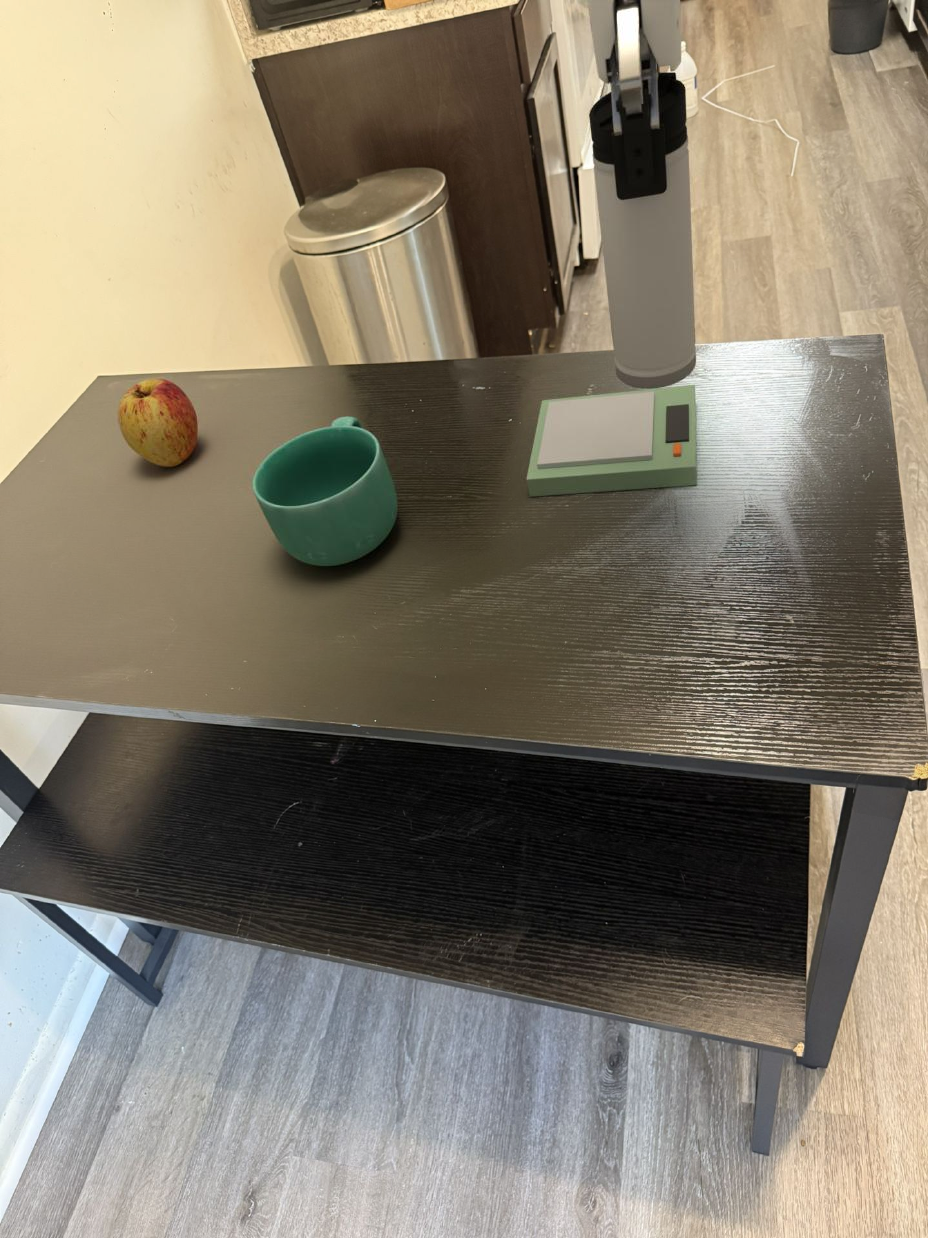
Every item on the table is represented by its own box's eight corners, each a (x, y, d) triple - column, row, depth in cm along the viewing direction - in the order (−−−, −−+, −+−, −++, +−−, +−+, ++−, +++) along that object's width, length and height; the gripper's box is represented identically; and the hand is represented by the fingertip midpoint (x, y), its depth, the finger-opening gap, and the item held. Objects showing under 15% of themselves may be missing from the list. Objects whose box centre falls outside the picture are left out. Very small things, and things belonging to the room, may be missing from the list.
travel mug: (713, 354, 69) (708, 69, 55) (667, 397, 66) (649, 109, 52) (647, 340, 72) (626, 70, 59) (600, 380, 70) (567, 108, 56)
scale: (695, 402, 91) (694, 378, 89) (697, 485, 81) (695, 460, 79) (544, 417, 95) (540, 395, 93) (529, 497, 86) (524, 474, 84)
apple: (221, 456, 105) (184, 383, 98) (151, 489, 103) (109, 417, 96) (201, 427, 111) (165, 357, 104) (135, 458, 109) (95, 388, 102)
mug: (382, 585, 81) (351, 506, 75) (267, 582, 85) (228, 507, 79) (433, 477, 92) (410, 399, 85) (329, 478, 96) (299, 405, 90)
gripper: (693, -178, 40) (703, 218, 52) (688, -209, 51) (697, 121, 64) (532, -134, 42) (579, 237, 54) (562, -173, 53) (595, 140, 66)
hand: (643, 171), depth 59 cm, fingers closed on travel mug, 6 cm apart
